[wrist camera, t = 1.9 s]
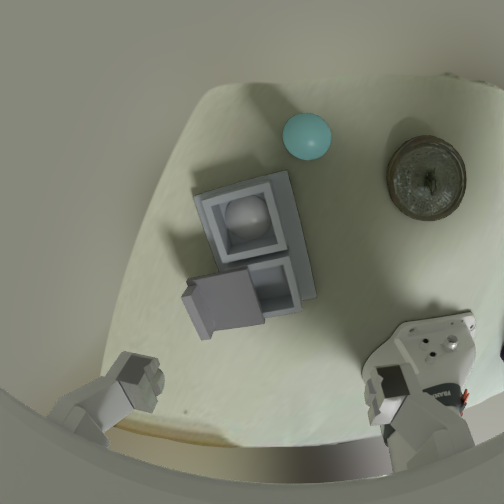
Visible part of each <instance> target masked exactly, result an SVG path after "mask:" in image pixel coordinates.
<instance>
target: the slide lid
mask: <svg viewBox="0 0 504 504" xmlns="http://www.w3.org/2000/svg"><path fill="white" fill-rule="evenodd" d="M186 283H187V285H188V287H187V289H186V290H185V292H184V293H183V295H182V296H181V299H182V301H183V303H184V305H185V307H186V310H187V312H188V314H189V316H190V318H191V320H192V322H193V324H194V326H195V329H196V331H197V333H198V335H199V337H200V339H201V340H209V339H211V337H212V334H213V332H214V331H218V330H225V329H233V328H240V327H247V326H253V325H260V324H265V318H264V315H263V312H262V309H261V306H260V302H259V299H258V296H257V293H256V290H255V287H254V284H253V281H252V278H251V275H250V271H249V268H248V266H246V267H242V268H237V269H232V270H227V271H223V272H218V273H213V274H208V275H203V276H199V277H194V278H189V279H188V280H187V281H186Z"/></svg>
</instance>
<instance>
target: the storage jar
mask: <svg viewBox="0 0 504 504" xmlns="http://www.w3.org/2000/svg"><path fill="white" fill-rule="evenodd" d="M500 357H501V359H502V360H503V361H504V346H503V348H502V350H501V354H500Z"/></svg>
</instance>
